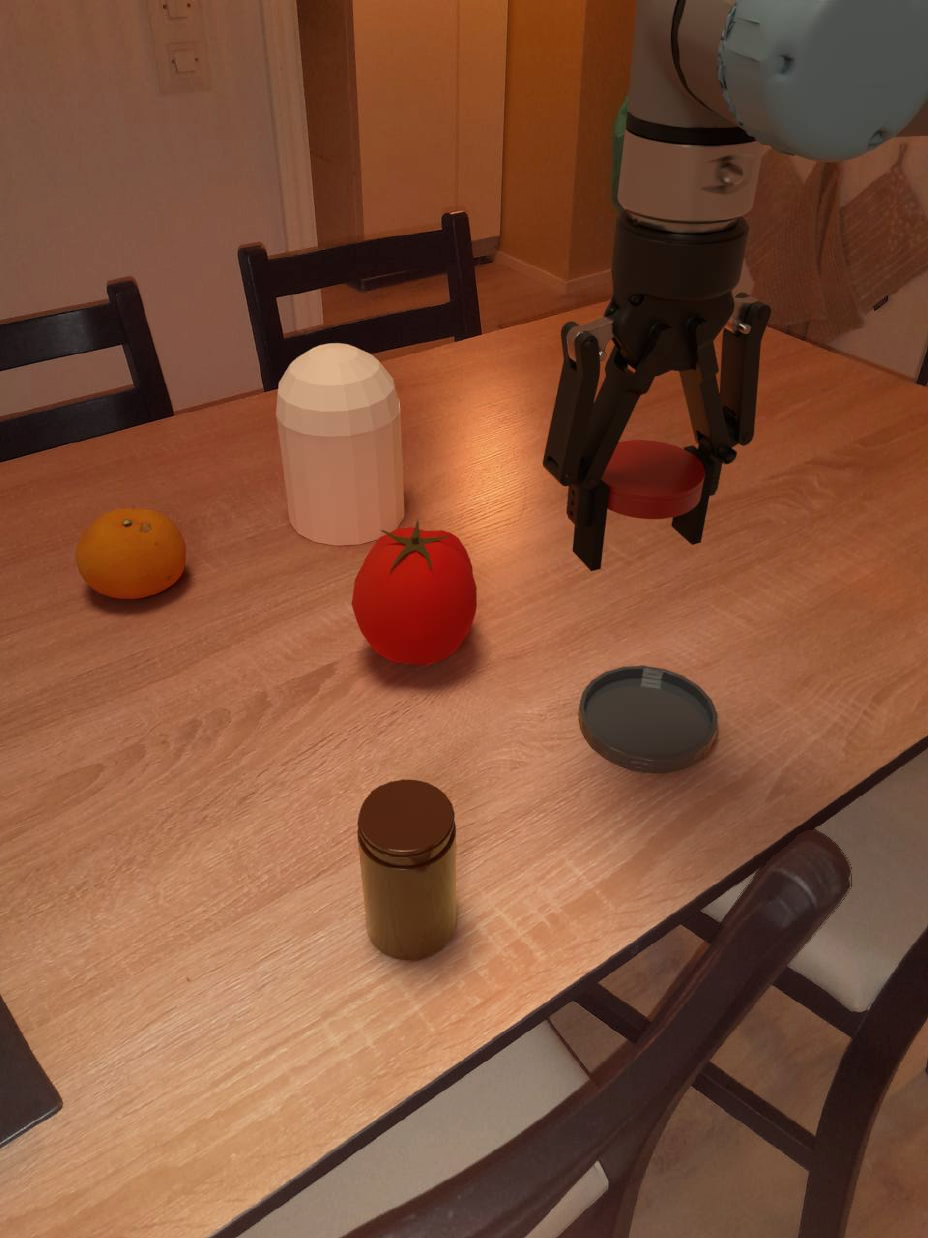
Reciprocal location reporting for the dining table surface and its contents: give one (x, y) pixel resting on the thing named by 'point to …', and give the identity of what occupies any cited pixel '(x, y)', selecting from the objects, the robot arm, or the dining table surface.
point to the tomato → (415, 595)
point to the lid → (653, 480)
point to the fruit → (131, 553)
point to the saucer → (647, 719)
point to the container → (341, 446)
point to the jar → (408, 868)
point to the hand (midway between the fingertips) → (637, 546)
